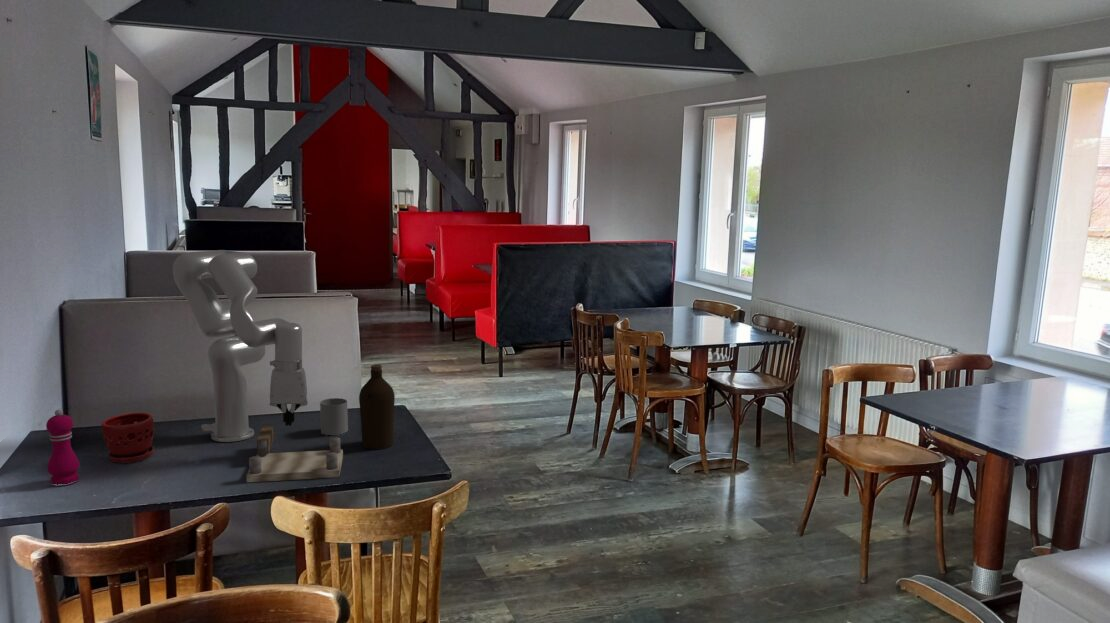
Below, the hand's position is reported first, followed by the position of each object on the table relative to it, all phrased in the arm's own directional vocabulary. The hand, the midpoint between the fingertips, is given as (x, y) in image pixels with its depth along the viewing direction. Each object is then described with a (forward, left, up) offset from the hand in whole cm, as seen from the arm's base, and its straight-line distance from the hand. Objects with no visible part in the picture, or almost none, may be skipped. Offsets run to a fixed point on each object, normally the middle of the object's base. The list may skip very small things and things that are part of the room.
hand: (288, 424), depth 234 cm
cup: (+12, +16, -8) cm, 22 cm away
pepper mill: (-55, -17, -8) cm, 58 cm away
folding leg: (-6, -3, -5) cm, 9 cm away
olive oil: (+26, +1, -8) cm, 27 cm away
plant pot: (-44, 0, -8) cm, 45 cm away
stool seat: (+4, -16, -8) cm, 19 cm away
